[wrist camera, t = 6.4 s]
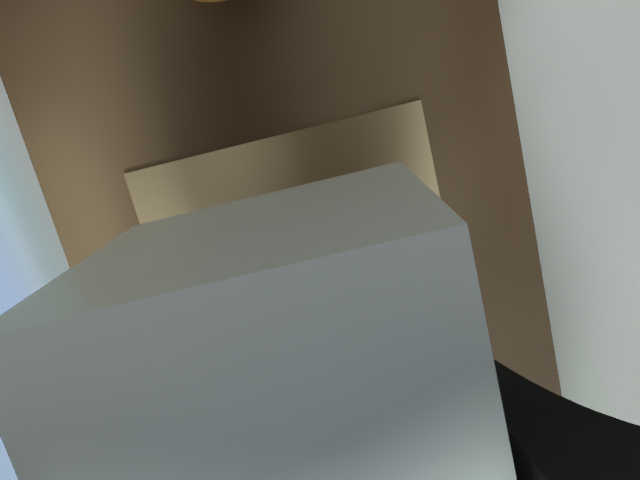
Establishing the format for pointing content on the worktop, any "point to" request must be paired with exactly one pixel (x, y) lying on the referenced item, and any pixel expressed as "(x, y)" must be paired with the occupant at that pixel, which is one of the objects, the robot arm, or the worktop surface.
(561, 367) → the worktop surface
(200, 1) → the marble
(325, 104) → the walnut board
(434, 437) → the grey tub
